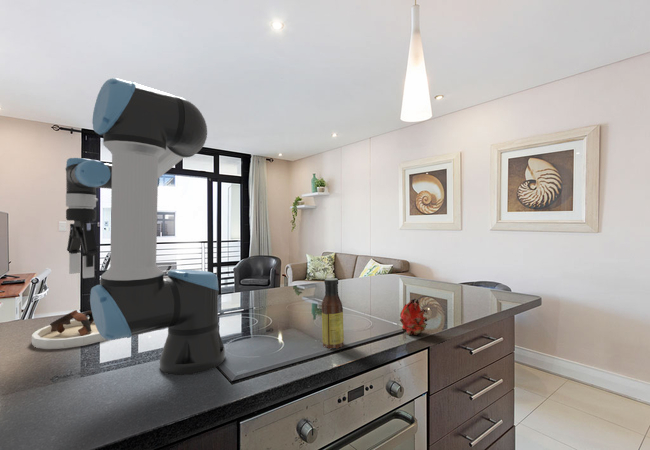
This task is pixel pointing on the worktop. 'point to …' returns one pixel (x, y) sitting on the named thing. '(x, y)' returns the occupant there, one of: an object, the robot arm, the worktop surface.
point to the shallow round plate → (65, 336)
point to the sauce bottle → (332, 315)
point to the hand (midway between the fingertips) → (81, 275)
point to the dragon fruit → (413, 318)
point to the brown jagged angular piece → (78, 317)
